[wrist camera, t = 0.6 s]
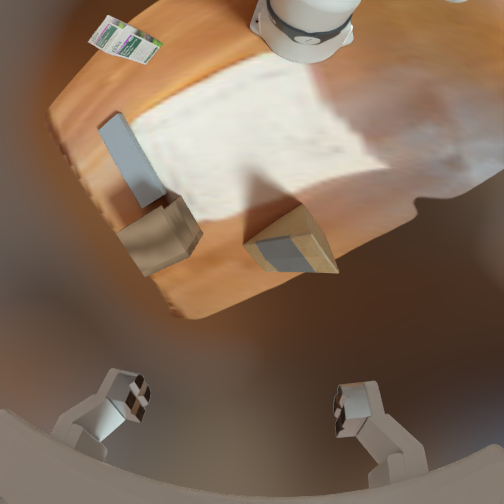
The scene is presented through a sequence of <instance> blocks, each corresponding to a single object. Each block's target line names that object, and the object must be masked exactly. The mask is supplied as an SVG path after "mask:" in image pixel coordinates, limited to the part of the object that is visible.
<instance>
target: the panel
mask: <svg viewBox="0 0 504 504" xmlns="http://www.w3.org/2000/svg"><path fill="white" fill-rule="evenodd" d="M98 132H99V134H100V136H101V137H102V139H103V141H104V143H105V145H106V147H107V149H108V151H109V152H110V154H111V156H112V158H113V160H114V161H115V163H116V165H117V167H118V169H119V170H120V172H121V174H122V176H123V177H124V179H125V181H126V182H127V184H128V186H129V188H130V189H131V191H132V193H133V194H134V196H135V198H136V199H137V201H138V203H139V204H140V206H141V208H142V209H143V208H144V207H146V206H147V205H149V204H150V203H152V202H153V201H155V200H157V199H158V198H160V197H161V196H163V195H164V194H166V193H167V191H166V189H165V188H164V186H163V184H162V183H161V181H160V179H159V178H158V176H157V174H156V172H155V171H154V169H153V167H152V166H151V164H150V162H149V160H148V159H147V157H146V155H145V153H144V152H143V150H142V148H141V146H140V145H139V143H138V141H137V139H136V137H135V136H134V134H133V132H132V130H131V128H130V127H129V125H128V123H127V121H126V119H125V117H124V116H123V114H122V113H117V114H116V115H115V116H114V117H113V118H112V119H110V120H109V121H108V122H107V123H106V124H105V125H104V126H103V127H101V128H100V129H99V130H98Z"/></svg>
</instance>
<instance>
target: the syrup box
mask: <svg viewBox="0 0 504 504" xmlns="http://www.w3.org/2000/svg"><path fill="white" fill-rule="evenodd" d="M88 42H89V43H91V44H92V45H94V46H95V47H97V48H99V49H100V50H102V51H104V52H105V53H107V54H111V55H115V56H118V57H122V58H126V59H129V60H133V61H136V62H139V63H141V64H144V65H146V64H147V63H148V61H149V60H150V59H151V58H152V57H153V55H154V54H155V53H156V52H157V51H158V49H159V48H160V47H161V46H162V45H163V43H162V42H160V41H158V40H157V39H155V38H153V37H151V36H150V35H148V34H146V33H144V32H142V31H140V30H138V29H136V28H135V27H133V26H131V25H129V24H126V23H124V22H122V21H120V20H118V19H116V18H114V17H111V16H109V15H107V17H106V18H105V20H104V21H103V23H101V25H100V26H99V27H98V29H97V30H96V31H95V33H94V34H93V35H92V37H91V38H90V40H89V41H88Z"/></svg>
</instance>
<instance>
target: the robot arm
mask: <svg viewBox="0 0 504 504" xmlns="http://www.w3.org/2000/svg"><path fill="white" fill-rule="evenodd" d="M445 1H448V2H452V3H460V2H464V1H467V0H445ZM360 2H361V0H258V3H257V6H256V9H255V11H254V14H253V17H252V20H251V23H250V30H251V31H252V32H254V33H255V34H257V35H258V36H260V37H262V38H263V39H264V40H265V42H266V43H267V45H268V46H269V47H270V48H271V49H272V50H273V51H274V52H275V53H276V54H278V55H279V56H281V57H283V58H285V59H287V60H290V61H293V62H297V63H316V62H320V61H323V60H325V59H327V58H329V57H330V56H332V55H333V54H334V53H335V52H336V51H337V50H338V49H339V48H340V47H342V46H345V45H348V44H350V43H351V42H352V41H353V33H352V29H353V25H351V22H350V21H351V17H352V14H353V11H354V10H355V9H356V7H357V6H358V5H359V3H360ZM256 21H259V23H256ZM337 390H338V394H336V395H335V399H334V415H335V417H337V421H336V424H335V428H336V437H337V438H339V437H350V436H356V437H357V439H358V440H359V441H360V442H361V443H362V445H363V446H364V447H365V448H366V450H367V451H368V452H369V453H370V454H371V456H372V457H373V458H374V459H375V460H376V461H377V463H378V464H379V465H378V466H377V467H376V468H374V469H373V470H372V471H371V472H370V473H369V474H368V478H369V489H365V490H360V491H354V492H347V493H340V494H332V495H322V496H308V497H253V496H239V495H229V494H221V493H213V492H207V491H200V490H195V489H190V488H185V487H180V486H175V485H171V484H168V483H164V482H159V481H156V480H152V479H149V478H145V477H142V476H139V475H136V474H133V473H130V472H127V471H124V470H121V469H119V468H116V467H113V466H111V465H108V464H106V463H103V462H104V459H105V456H106V453H107V448H106V447H104V446H103V445H102V444H101V443H100V441H102V440H103V439H104V438H105V437H106V436H107V435H109V434H110V433H111V432H112V431H113V430H115V429H116V428H117V427H118V426H119V425H120V424H121V423H122V422H124V421H125V419H128V420H131V421H135V422H140V423H141V422H142V419H143V416H144V414H145V409H144V406H146V405H147V404H148V403H149V400H150V395H151V391H150V387H149V386H148V385H147V384H146V383H145V382H144V377H143V376H142V374H136V373H132V372H127V371H123V370H118V369H114V368H112V369H111V370H109V372H108V374H107V376H106V378H105V379H104V381H103V383H102V385H101V387H100V389H99V391H98V393H97V395H95V394H93V395H92V396H90V397H89V398H87V399H86V400H84V401H83V402H81V403H80V404H78V405H76V406H75V407H73V408H72V409H70V410H68V411H67V412H65V413H64V414H62V415H60V417H59V419H58V421H57V423H56V425H55V427H54V429H53V431H52V433H51V435H50V436H49V435H47V434H45V433H44V432H42V431H40V430H39V429H37V428H35V427H34V426H32V425H31V424H29V423H28V422H26V421H25V420H23V419H22V418H20V417H19V416H17V415H16V414H15V413H13V412H12V411H10V410H8V409H3V410H0V504H504V449H503V448H502V447H500V446H498V445H496V444H493V445H490V446H488V447H486V448H484V449H482V450H480V451H478V452H476V453H474V454H472V455H470V456H468V457H466V458H464V459H462V460H459V461H457V462H454V463H452V464H450V465H447V466H445V467H442V468H440V469H437V470H434V471H432V472H429V471H428V466H427V461H426V457H425V452H424V448H423V445H422V444H421V443H420V442H418V441H417V440H416V439H415V438H414V437H413V436H412V435H411V434H410V433H408V432H407V431H406V430H405V429H404V428H403V427H402V426H401V425H400V424H399V423H397V422H396V421H395V420H394V419H393V418H392V417H391V416H390V415H389V414H385V413H384V409H383V405H382V400H381V396H380V392H379V389H378V385H377V383H376V381H370V382H360V383H351V384H343V385H339V386H338V389H337Z"/></svg>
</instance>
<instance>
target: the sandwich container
mask: <svg viewBox="0 0 504 504" xmlns="http://www.w3.org/2000/svg"><path fill="white" fill-rule="evenodd" d="M243 247H244V248H245V249H246V250H247V252H248V253H249V254H250V255H251V256H252V258H253V259H254V260H255V261H256V262H257V263H258V264H259V265H260V266H261V268H262V269H263V270H264V271H265V272H321V273H339V270H338V268H337V265H336V262H335V259H334V257H333V254H332V251H331V249H330V246H329V243H328V241H327V238H326V236H325V234H324V232H323V231H322V229H321V228H320V227H319V225H318V224H317V222H316V221H315V220H314V218H313V217H312V215H311V214H310V213H309V211H308V210H307V209H306V207H305V206H304V205H303V204H301V205H299V206H298V207H296V208H295V209H293V210H291V211H290V212H288V213H287V214H285V215H284V216H282V217H281V218H279V219H277V220H276V221H275V222H273V223H272V224H270V225H269V226H268V227H266V228H265V229H264V230H262V231H261V232H259V233H258V234H257V235H255V236H254V237H253V238H251V239H250V240H248V241H247V242H246V243H244V244H243Z"/></svg>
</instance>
